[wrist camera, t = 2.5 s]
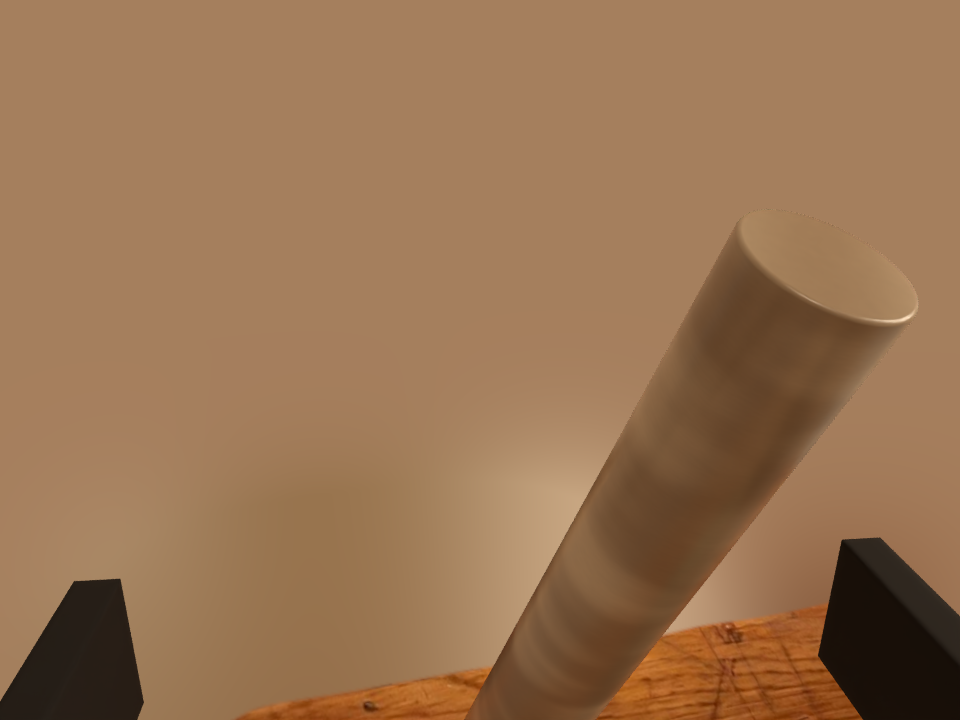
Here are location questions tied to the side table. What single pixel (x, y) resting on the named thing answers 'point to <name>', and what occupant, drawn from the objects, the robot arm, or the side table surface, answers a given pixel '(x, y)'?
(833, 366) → the paper towel holder
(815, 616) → the side table surface
